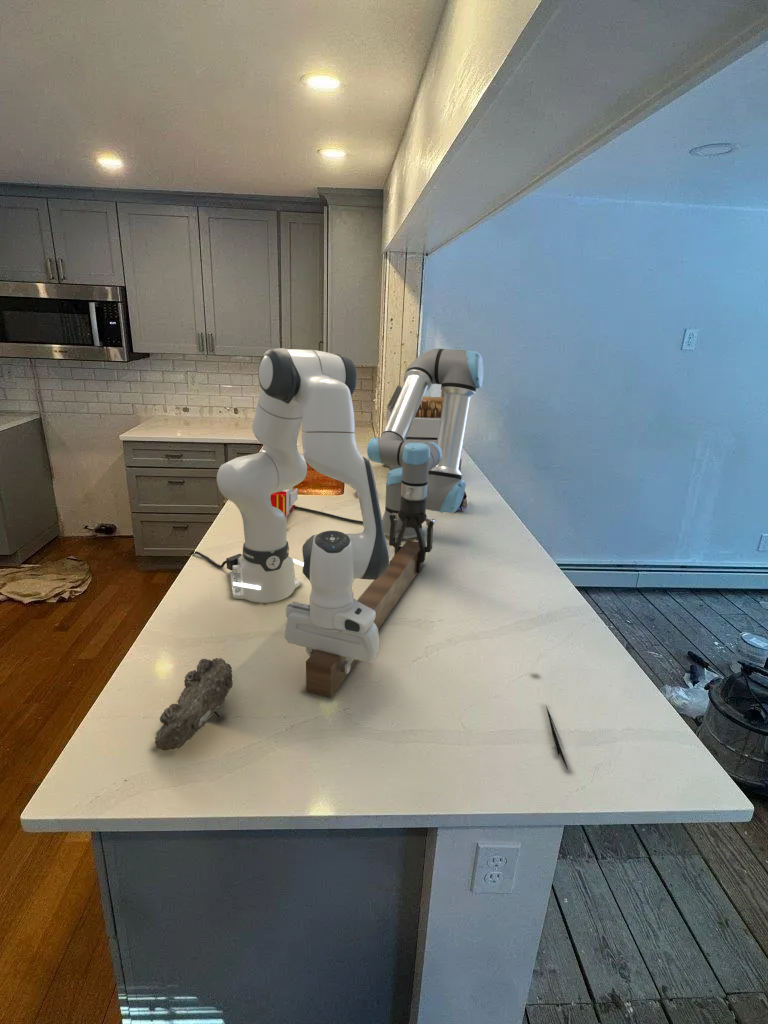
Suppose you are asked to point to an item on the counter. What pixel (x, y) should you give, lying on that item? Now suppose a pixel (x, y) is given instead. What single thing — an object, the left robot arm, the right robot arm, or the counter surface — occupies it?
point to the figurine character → (463, 502)
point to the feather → (556, 737)
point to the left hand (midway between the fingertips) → (330, 667)
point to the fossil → (195, 703)
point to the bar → (382, 599)
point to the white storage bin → (421, 421)
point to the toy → (284, 500)
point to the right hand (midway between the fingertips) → (409, 569)
